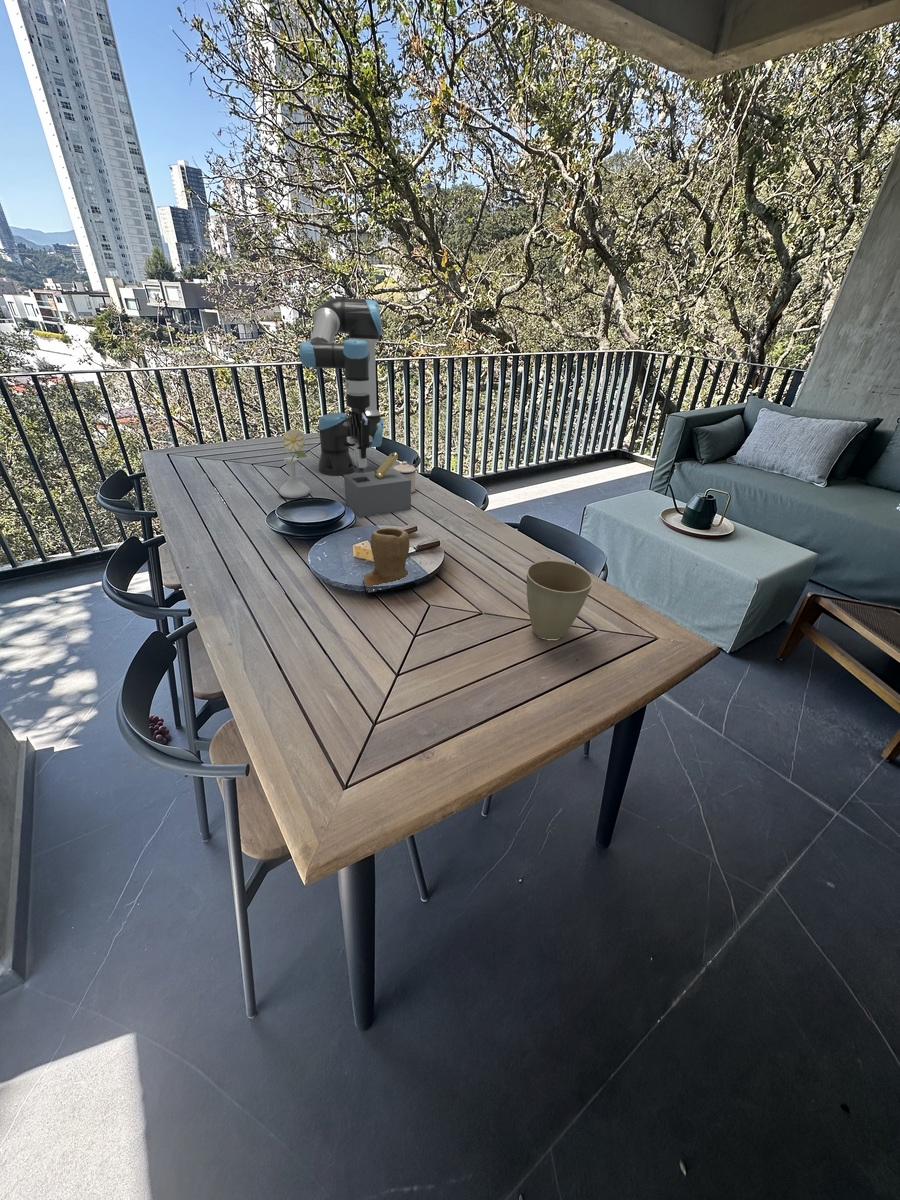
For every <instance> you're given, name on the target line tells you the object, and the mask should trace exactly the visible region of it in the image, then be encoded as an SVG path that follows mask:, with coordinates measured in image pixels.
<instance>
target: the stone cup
mask: <svg viewBox="0 0 900 1200" xmlns="http://www.w3.org/2000/svg"><path fill="white" fill-rule="evenodd" d="M370 549H371V552H372V553H371V555H372V558H373V561H374V569H373V570H372V571H370V572H368V573H364V574H365V575H364V579H363V582H364V581H365V583H364V585H365V584H366V586H367V587H370V586H373V585H379V584H382V583H388V582H393V581H396V580H400V579H401V578H404V577H406V575H408V571H407V570H408V569H407V568H406V564H407V563H406V562H407V559H408V556H409V552H410V537H409V533H408V532H407V531H406V530H405V529H404V530H403V529H400V528H397V527H396V528H395V527H384V528H378V529H375V530H373V531H372V533H371V538H370ZM406 569H407V570H406ZM374 592H376V591H368V592H367V593H374Z"/></svg>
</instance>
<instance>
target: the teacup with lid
mask: <svg viewBox="0 0 900 1200" xmlns="http://www.w3.org/2000/svg"><path fill="white" fill-rule="evenodd" d="M392 469H396V470H397V471H398V472H400V473H401V474H403V475H404V476H406V477H407V478H409V479H410V480H411V494H413V493H414V492H415V491H416V472H417V468H416V467H415V466H413V465H411V464H409V463H408V462H407V461H405V460H404V461H402V462H401V463H400V464H398V465H395V466H393V467H392Z"/></svg>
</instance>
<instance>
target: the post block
mask: <svg viewBox="0 0 900 1200" xmlns="http://www.w3.org/2000/svg"><path fill="white" fill-rule="evenodd" d="M375 471H376V470H375ZM375 471H373V470H372V471H365V472H358V473H349V474H345V475H343V484H344V499H345V505H346V506H347V507H348V508H349V507H350V508H351V509H352V510H353V511H354V512H355V513H356V514H357V515H358V516H359V517H360V518H366V517H371V516H370V515H373V516H377V515H376V514H379V515H383V514H382V513H385V514H389V513H391V514H392V513H397V512H401V511H409V510H412V509H411V508H412V493H411V480H410V479H409V478H407V477H406V476H404V475H403V474H401V473H400V472H398V471H397V470H396V469H393V468H390V469H389V470H388V471H387V472H386V473H385V475H384V476H383V478H382V479H380V478H378V477H377V476H376V475H374V472H375ZM350 508H349V509H350ZM351 509H350V510H351ZM352 510H351V511H352ZM353 511H352V512H353ZM354 512H353V513H354ZM355 513H354V514H355ZM356 514H355V515H356ZM357 515H356V516H357ZM358 516H357V517H358ZM365 516H366V517H365ZM359 517H358V518H359Z"/></svg>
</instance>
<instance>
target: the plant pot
mask: <svg viewBox="0 0 900 1200" xmlns="http://www.w3.org/2000/svg"><path fill="white" fill-rule="evenodd" d="M593 579H594V578H593V577H592V575H591V574H590V573H589V572H588V571H586V570H585V569H584V568H582V567H580V566H578V565H575V564H573V563H569V562H565V561H560V560H559V561H558V560H541V561H536V562H534V563H532V564H531V565H529V566H528V567H527V570H526V597H527V607H528V615H529V619H530V624H531V629H532V633H533V634H534V633H535V634H536V635H537V636H539V637H541V638H545V639H558V638H561V637H562V638H563V637H564V636H565V634H567V632H568V631H569V629H570V628H571V626H572V625H573V623H574V622H575V621H576V618H577V617H578V615H579V613H580V612H581V610H582V608H583V607H584V604H585V602H586V600H587V598H588V596H589V594H590V591H591V589H592V586H593V584H594V580H593ZM535 634H534V635H535ZM536 635H535V636H536ZM537 636H536V637H537ZM539 637H538V638H539ZM541 638H540V639H541ZM562 638H561V639H562Z"/></svg>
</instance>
